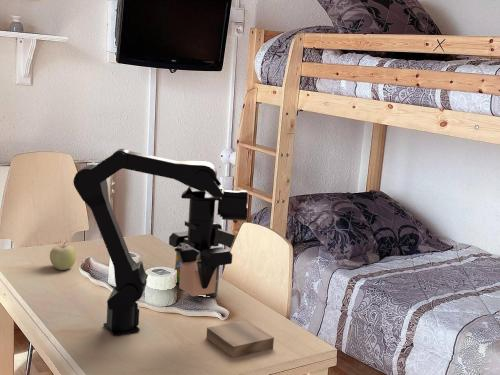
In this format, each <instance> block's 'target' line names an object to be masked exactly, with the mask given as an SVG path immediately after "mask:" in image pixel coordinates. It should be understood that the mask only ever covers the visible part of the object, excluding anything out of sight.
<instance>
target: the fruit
mask: <svg viewBox="0 0 500 375" xmlns="http://www.w3.org/2000/svg"><path fill="white" fill-rule="evenodd" d="M49 260H50V263H51V265H52V266H53V267H54V268H55V269H56V270H60V271H65V270H69V269H71V268H72V267H73V266H74V264H75V263H76V260H77V253H76V250H75V248H74V247H73V246H72V245H69V244H66V242H63V244H59V245H56V246H55V245H54V246H53V248H52V249H51V250H50V253H49Z"/></svg>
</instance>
